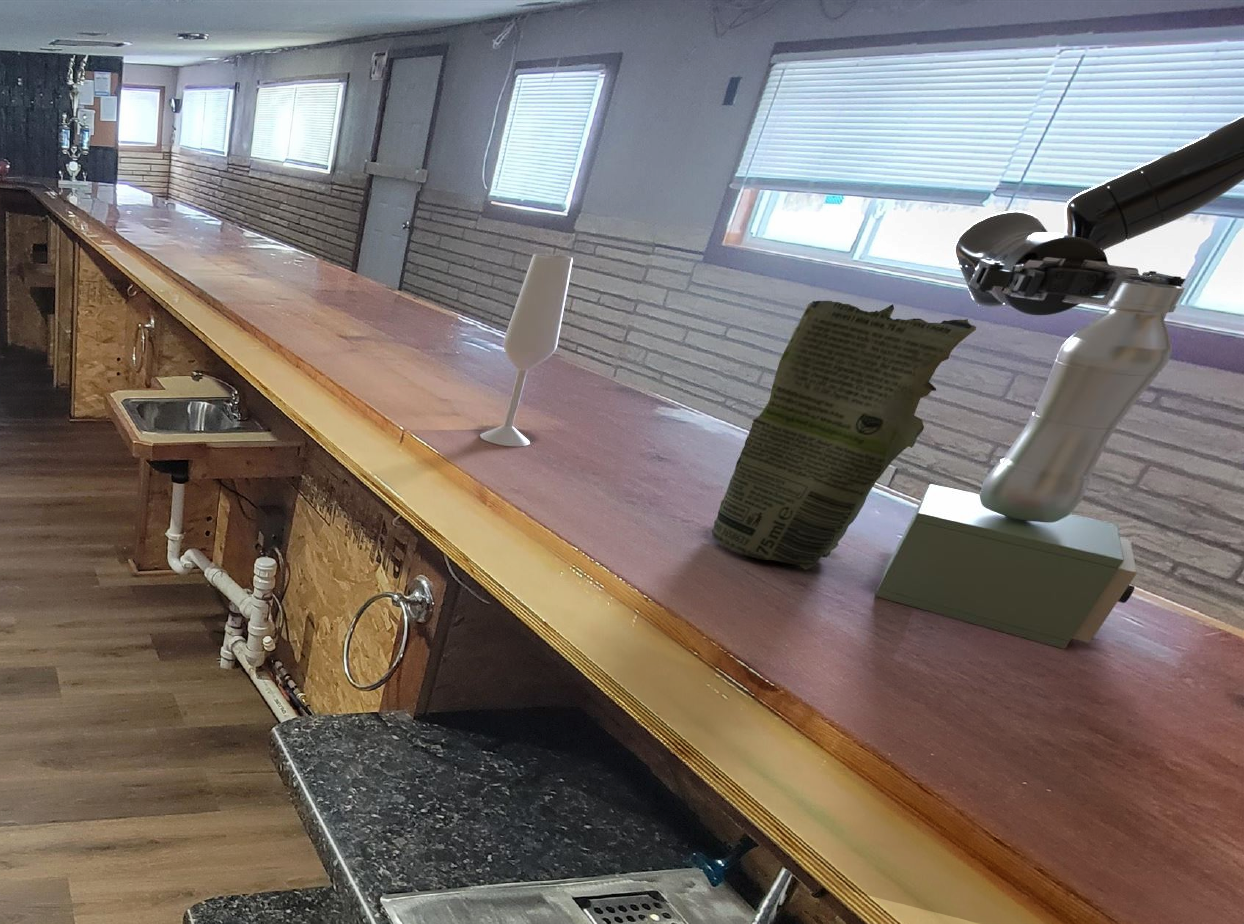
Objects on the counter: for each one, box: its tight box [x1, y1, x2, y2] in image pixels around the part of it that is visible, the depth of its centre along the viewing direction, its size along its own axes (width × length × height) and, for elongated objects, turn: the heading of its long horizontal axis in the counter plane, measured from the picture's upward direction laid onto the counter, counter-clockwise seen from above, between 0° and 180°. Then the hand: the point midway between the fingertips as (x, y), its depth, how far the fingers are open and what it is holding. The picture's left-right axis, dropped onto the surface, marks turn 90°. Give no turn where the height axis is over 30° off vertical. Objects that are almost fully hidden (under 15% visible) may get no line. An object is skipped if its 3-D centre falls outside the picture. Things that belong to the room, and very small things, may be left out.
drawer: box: [1071, 536, 1138, 644], centre depth 82 cm, size 14×10×7 cm
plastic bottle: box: [979, 281, 1185, 522], centre depth 76 cm, size 6×7×20 cm
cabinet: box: [874, 483, 1124, 650], centre depth 83 cm, size 14×12×9 cm
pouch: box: [710, 300, 977, 571], centre depth 87 cm, size 11×12×25 cm
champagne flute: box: [479, 253, 574, 447], centre depth 120 cm, size 7×7×24 cm
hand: (1094, 290), depth 82 cm, fingers open, 8 cm apart
